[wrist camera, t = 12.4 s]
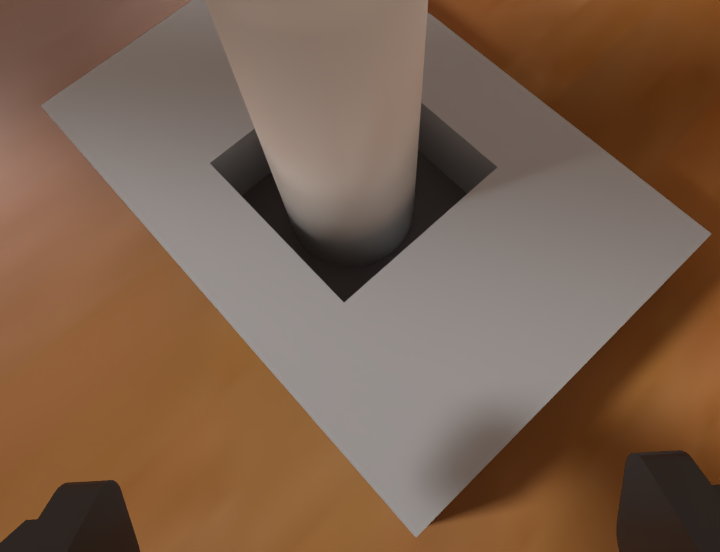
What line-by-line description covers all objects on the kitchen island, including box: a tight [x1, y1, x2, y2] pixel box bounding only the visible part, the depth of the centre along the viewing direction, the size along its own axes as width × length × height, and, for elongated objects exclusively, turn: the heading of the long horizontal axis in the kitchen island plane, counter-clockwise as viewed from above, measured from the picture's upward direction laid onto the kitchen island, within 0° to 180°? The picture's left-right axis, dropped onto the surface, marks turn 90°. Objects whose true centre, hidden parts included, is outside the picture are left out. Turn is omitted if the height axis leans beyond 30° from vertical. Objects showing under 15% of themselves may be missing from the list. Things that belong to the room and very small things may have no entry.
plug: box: [205, 0, 428, 267], centre depth 15 cm, size 4×4×13 cm
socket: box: [40, 0, 711, 537], centre depth 20 cm, size 18×12×3 cm, turn 43°
